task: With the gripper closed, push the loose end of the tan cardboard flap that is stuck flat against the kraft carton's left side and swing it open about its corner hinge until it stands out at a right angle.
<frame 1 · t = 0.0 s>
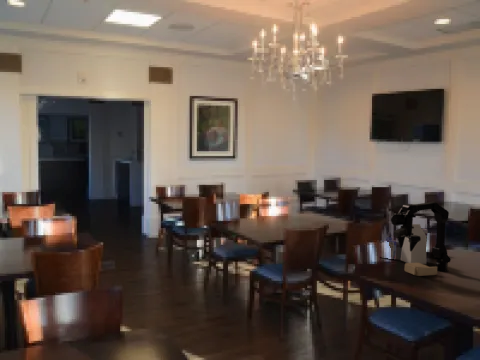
hand: (405, 249, 285), 15 cm above the table, fingers open, 9 cm apart
milk: (413, 262, 314), on the table
cake pan box: (413, 253, 342), on the table
flap: (426, 271, 281), point 3 cm above the table, hinge at 0.0°
carton: (417, 273, 286), on the table
ink cartridge box: (387, 258, 322), on the table
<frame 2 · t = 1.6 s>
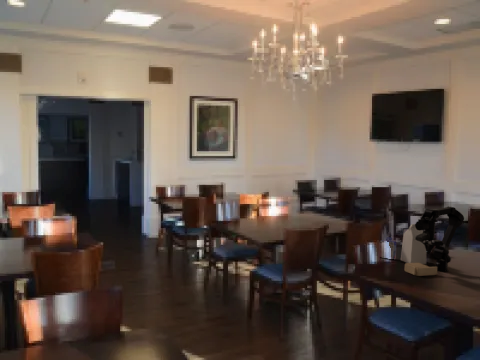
hand: (428, 254, 287), 12 cm above the table, fingers closed
nothing on the table moved.
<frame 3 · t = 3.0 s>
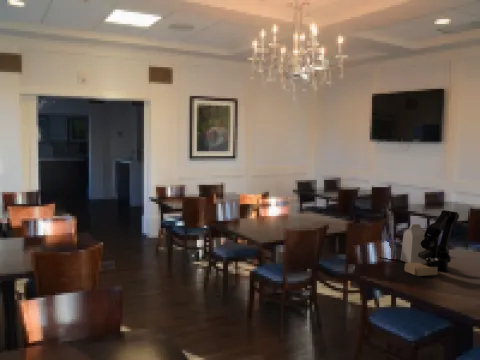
hand: (430, 271, 285), 2 cm above the table, fingers closed
flap: (426, 271, 281), point 3 cm above the table, hinge at 1.3°, touching gripper
everything else where it was.
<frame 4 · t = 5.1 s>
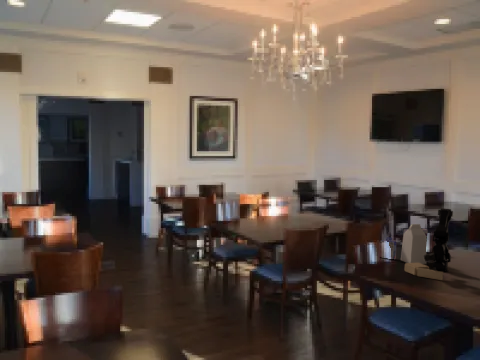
hand: (438, 275, 275), 2 cm above the table, fingers closed
flap: (429, 273, 276), point 3 cm above the table, hinge at 50.1°, touching gripper
everything else where it was.
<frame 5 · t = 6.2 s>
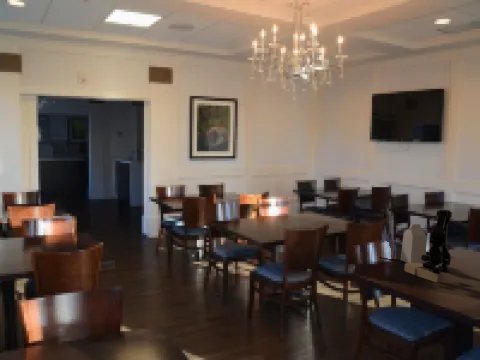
hand: (435, 277, 271), 2 cm above the table, fingers closed
flap: (426, 274, 273), point 3 cm above the table, hinge at 79.8°, touching gripper
everything else where it was.
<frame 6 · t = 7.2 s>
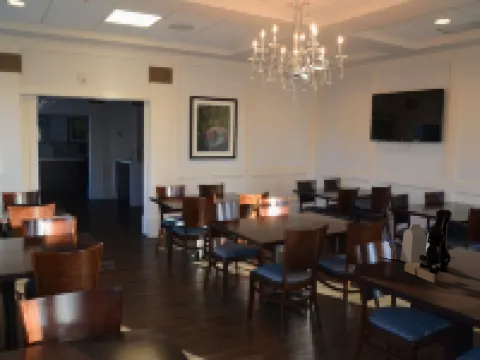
hand: (433, 278, 272), 1 cm above the table, fingers closed
flap: (425, 275, 273), point 3 cm above the table, hinge at 89.7°
everything else where it was.
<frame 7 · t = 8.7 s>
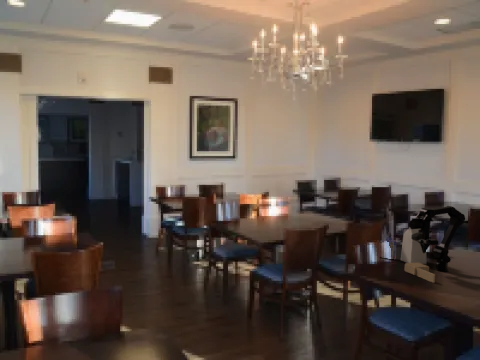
hand: (423, 253, 289), 12 cm above the table, fingers closed
nothing on the table moved.
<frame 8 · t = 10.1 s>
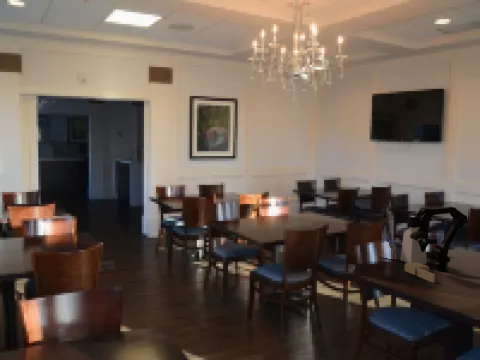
hand: (422, 252, 291), 12 cm above the table, fingers closed
nothing on the table moved.
at the end: flap at +90° (first picture: +0°); flap touching nothing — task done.
